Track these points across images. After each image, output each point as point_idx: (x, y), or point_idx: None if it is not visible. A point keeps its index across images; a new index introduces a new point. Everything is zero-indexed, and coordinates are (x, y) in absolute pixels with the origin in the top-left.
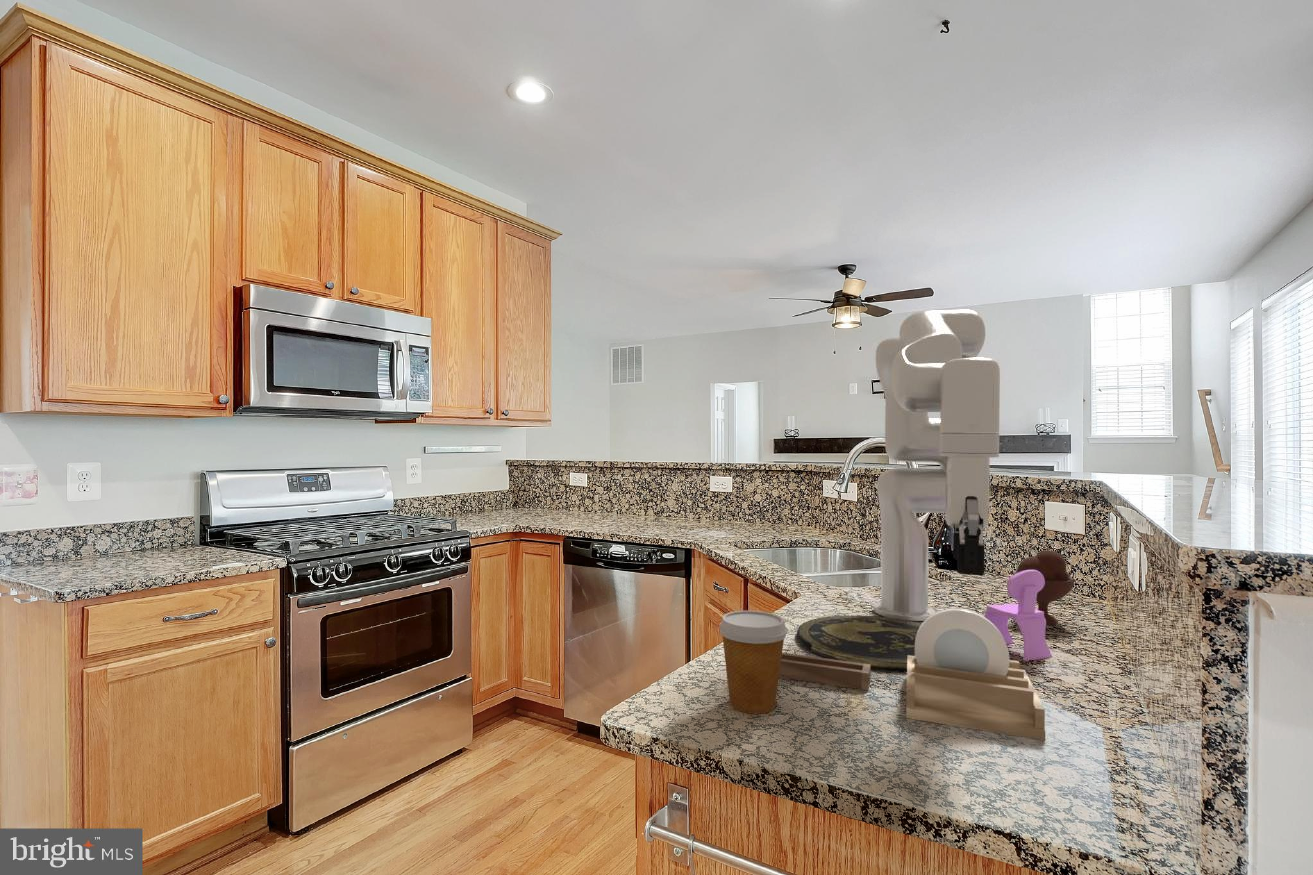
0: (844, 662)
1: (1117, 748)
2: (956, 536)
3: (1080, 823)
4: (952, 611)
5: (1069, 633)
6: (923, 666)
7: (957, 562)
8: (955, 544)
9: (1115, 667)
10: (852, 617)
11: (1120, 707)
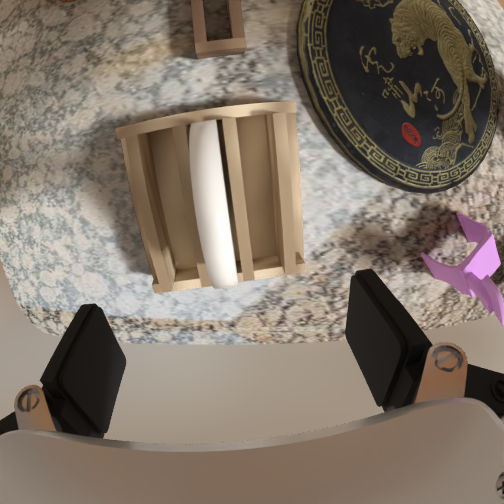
0: (232, 11)
1: (182, 327)
2: (395, 346)
3: (33, 289)
4: (196, 217)
5: None
6: (179, 140)
7: (79, 323)
8: (379, 314)
9: None
10: (482, 47)
11: (300, 334)
